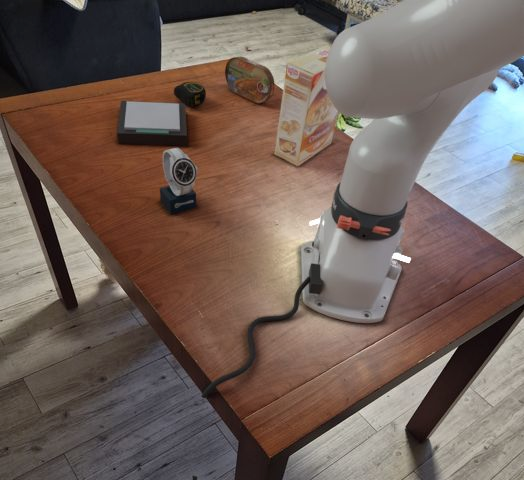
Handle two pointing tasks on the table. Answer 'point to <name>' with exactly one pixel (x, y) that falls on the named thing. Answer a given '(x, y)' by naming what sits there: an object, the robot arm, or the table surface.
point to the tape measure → (190, 93)
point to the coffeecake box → (305, 109)
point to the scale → (152, 123)
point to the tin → (249, 79)
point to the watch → (178, 181)
